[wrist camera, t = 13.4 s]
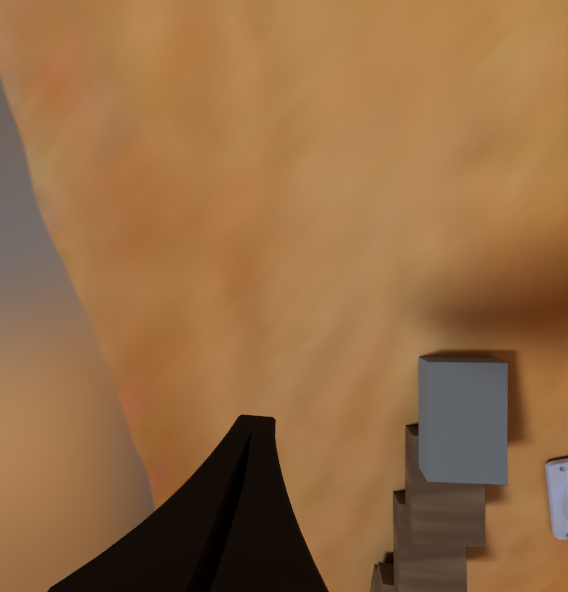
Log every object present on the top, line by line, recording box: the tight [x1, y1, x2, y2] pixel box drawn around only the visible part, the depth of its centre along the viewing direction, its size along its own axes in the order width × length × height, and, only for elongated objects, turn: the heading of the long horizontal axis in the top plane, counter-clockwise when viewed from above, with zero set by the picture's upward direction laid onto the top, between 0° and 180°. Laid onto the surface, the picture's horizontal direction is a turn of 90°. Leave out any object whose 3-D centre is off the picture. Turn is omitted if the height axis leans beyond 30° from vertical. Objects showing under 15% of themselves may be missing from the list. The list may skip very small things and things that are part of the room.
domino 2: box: [393, 491, 467, 592], centre depth 24 cm, size 2×5×8 cm
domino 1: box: [405, 425, 485, 548], centre depth 22 cm, size 2×5×8 cm
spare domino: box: [419, 357, 508, 485], centre depth 20 cm, size 2×5×8 cm
